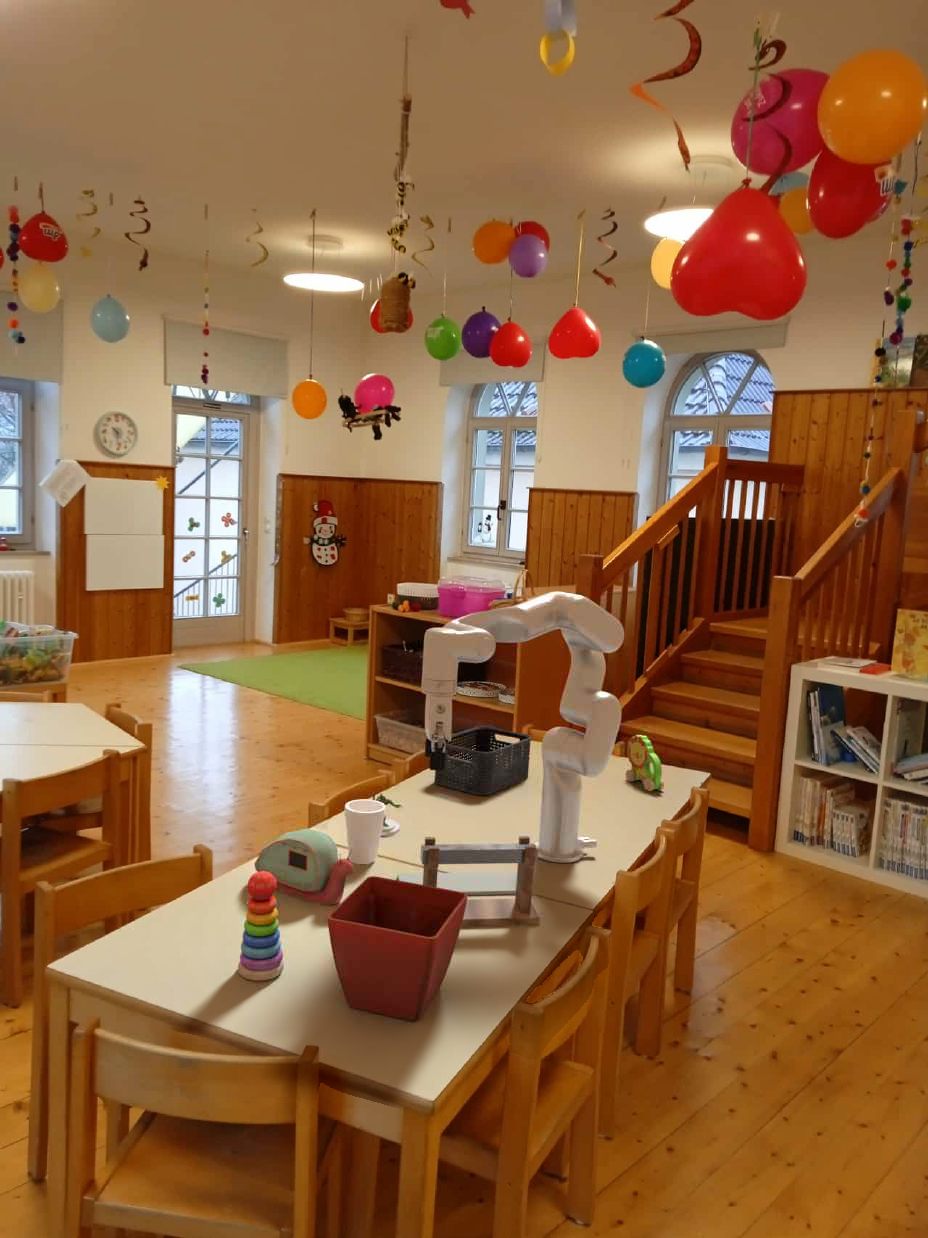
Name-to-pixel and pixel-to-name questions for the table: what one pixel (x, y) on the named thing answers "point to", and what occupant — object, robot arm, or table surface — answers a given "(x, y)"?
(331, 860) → the toy snail
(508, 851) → the rail
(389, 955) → the plant pot
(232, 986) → the table surface
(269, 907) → the stacking toy
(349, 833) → the foam cup
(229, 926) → the table surface
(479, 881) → the mat
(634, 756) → the toy lion
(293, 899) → the table surface
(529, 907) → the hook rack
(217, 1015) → the table surface
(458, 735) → the storage bin
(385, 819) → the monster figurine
